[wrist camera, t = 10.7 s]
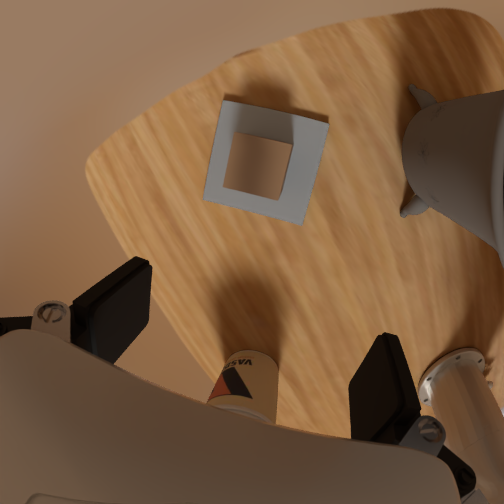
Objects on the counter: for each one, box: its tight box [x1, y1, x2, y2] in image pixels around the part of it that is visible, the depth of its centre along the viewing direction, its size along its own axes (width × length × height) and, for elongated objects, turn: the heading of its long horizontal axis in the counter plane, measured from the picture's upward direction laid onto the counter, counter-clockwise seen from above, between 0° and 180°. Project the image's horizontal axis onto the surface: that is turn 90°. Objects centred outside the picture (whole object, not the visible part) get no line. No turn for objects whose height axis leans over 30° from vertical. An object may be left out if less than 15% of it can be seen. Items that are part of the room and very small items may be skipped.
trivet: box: [203, 100, 329, 226], centre depth 29 cm, size 11×11×1 cm
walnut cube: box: [223, 132, 294, 201], centre depth 26 cm, size 5×5×5 cm
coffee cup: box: [207, 350, 278, 424], centre depth 34 cm, size 9×9×12 cm
